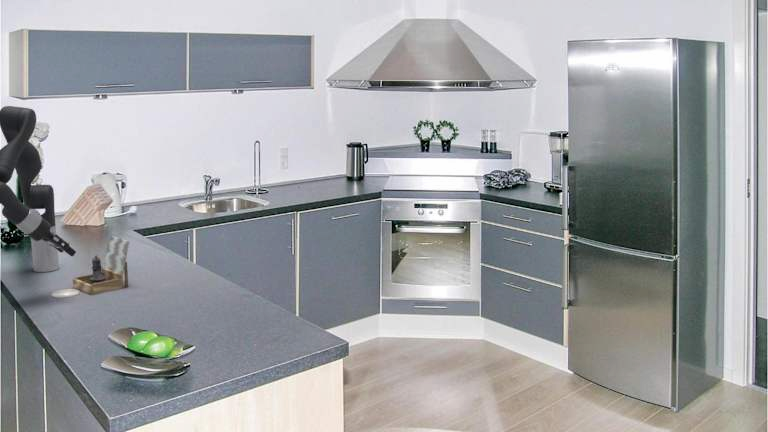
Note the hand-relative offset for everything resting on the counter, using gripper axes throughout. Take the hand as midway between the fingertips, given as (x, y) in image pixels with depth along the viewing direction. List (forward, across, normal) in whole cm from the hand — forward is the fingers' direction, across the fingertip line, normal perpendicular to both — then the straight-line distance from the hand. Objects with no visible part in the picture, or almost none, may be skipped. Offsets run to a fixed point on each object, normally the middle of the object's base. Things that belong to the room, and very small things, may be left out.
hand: (68, 252), depth 285 cm
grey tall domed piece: (+17, 0, +4) cm, 18 cm away
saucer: (+9, 0, +12) cm, 15 cm away
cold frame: (+18, 0, +2) cm, 18 cm away
